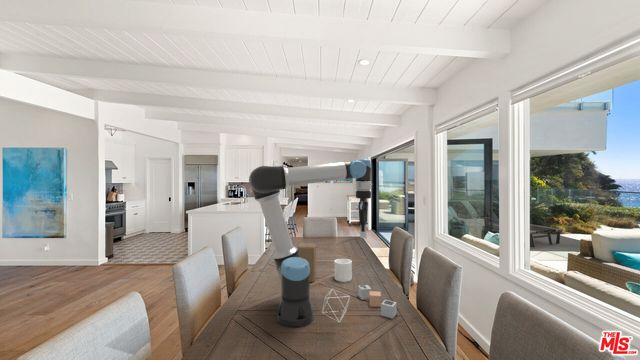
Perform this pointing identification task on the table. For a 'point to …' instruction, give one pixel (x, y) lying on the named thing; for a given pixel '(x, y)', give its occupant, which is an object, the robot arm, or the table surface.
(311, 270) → the block
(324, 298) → the geometric polyhedron
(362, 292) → the marked cube
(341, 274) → the mug
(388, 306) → the marked cube
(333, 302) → the table surface
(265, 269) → the table surface
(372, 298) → the plain cube
